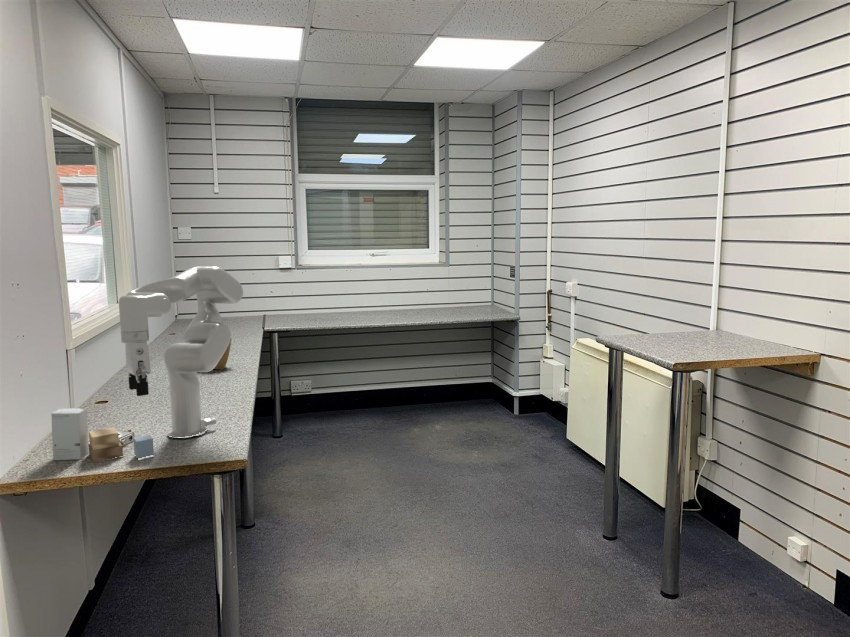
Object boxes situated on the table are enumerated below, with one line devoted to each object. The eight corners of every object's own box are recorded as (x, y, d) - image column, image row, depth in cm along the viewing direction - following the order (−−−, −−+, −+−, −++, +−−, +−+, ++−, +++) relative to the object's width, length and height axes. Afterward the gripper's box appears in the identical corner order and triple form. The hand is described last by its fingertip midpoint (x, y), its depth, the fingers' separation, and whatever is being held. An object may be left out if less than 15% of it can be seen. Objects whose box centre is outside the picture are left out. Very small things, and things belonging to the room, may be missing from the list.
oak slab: (114, 439, 188) (114, 427, 188) (119, 445, 183) (118, 432, 182) (89, 444, 184) (88, 431, 184) (93, 450, 179) (92, 437, 178)
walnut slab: (117, 450, 190) (116, 438, 189) (123, 457, 183) (122, 445, 183) (89, 456, 185) (88, 444, 184) (94, 463, 178) (92, 451, 178)
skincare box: (53, 461, 180) (48, 413, 178) (62, 454, 186) (58, 408, 184) (82, 459, 181) (78, 412, 179) (91, 452, 187) (87, 406, 185)
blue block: (150, 453, 186) (149, 434, 186) (154, 457, 183) (152, 438, 182) (134, 456, 184) (133, 437, 183) (138, 460, 180) (136, 441, 179)
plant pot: (227, 371, 298) (225, 340, 296) (197, 371, 298) (196, 340, 296) (236, 365, 313) (235, 335, 311) (208, 365, 313) (206, 335, 311)
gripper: (155, 338, 173) (159, 395, 176) (141, 331, 187) (145, 385, 189) (127, 341, 169) (131, 400, 171) (115, 334, 182) (119, 388, 185)
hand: (138, 392), depth 180 cm, fingers open, 9 cm apart
